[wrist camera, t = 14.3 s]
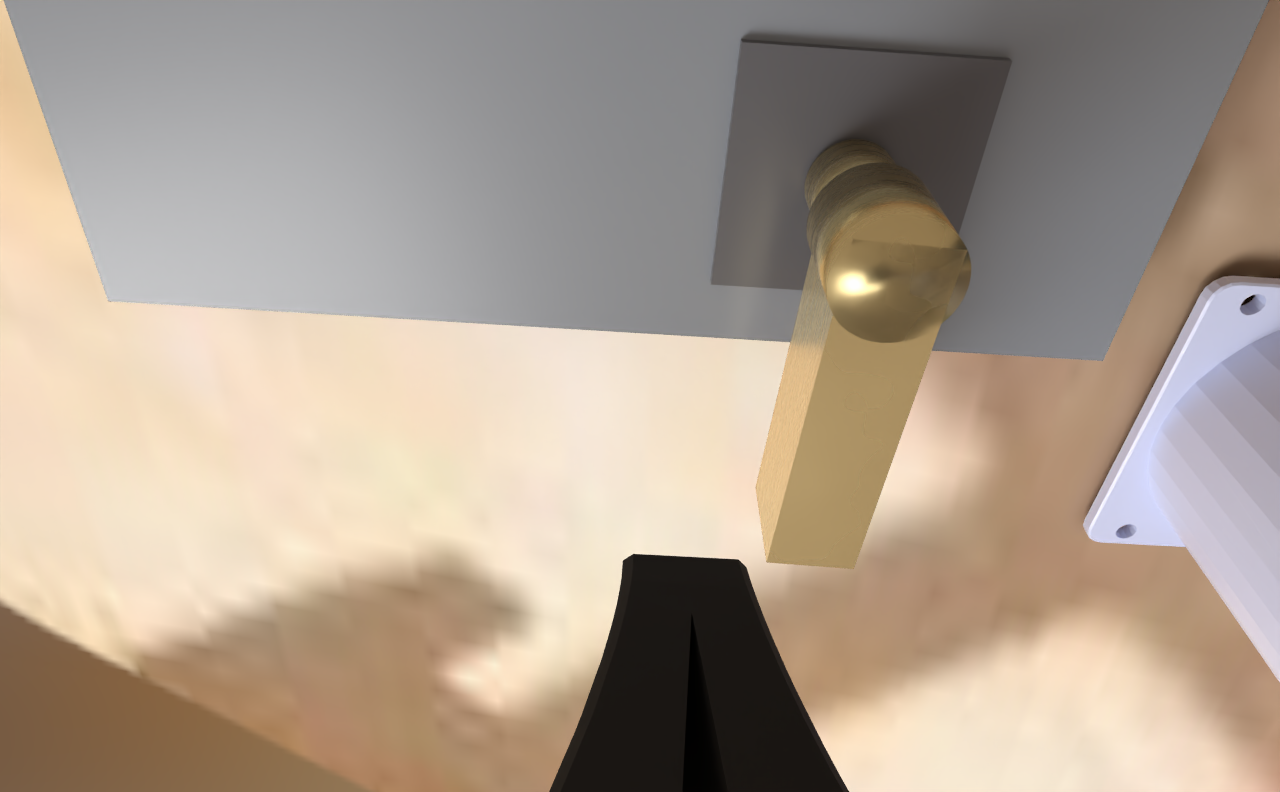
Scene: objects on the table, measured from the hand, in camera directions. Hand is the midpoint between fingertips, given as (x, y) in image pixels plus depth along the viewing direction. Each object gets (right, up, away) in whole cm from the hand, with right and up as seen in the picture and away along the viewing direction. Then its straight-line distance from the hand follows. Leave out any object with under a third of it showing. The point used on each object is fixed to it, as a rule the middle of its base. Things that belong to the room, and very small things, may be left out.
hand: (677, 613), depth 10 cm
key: (+3, +4, +6) cm, 8 cm away
